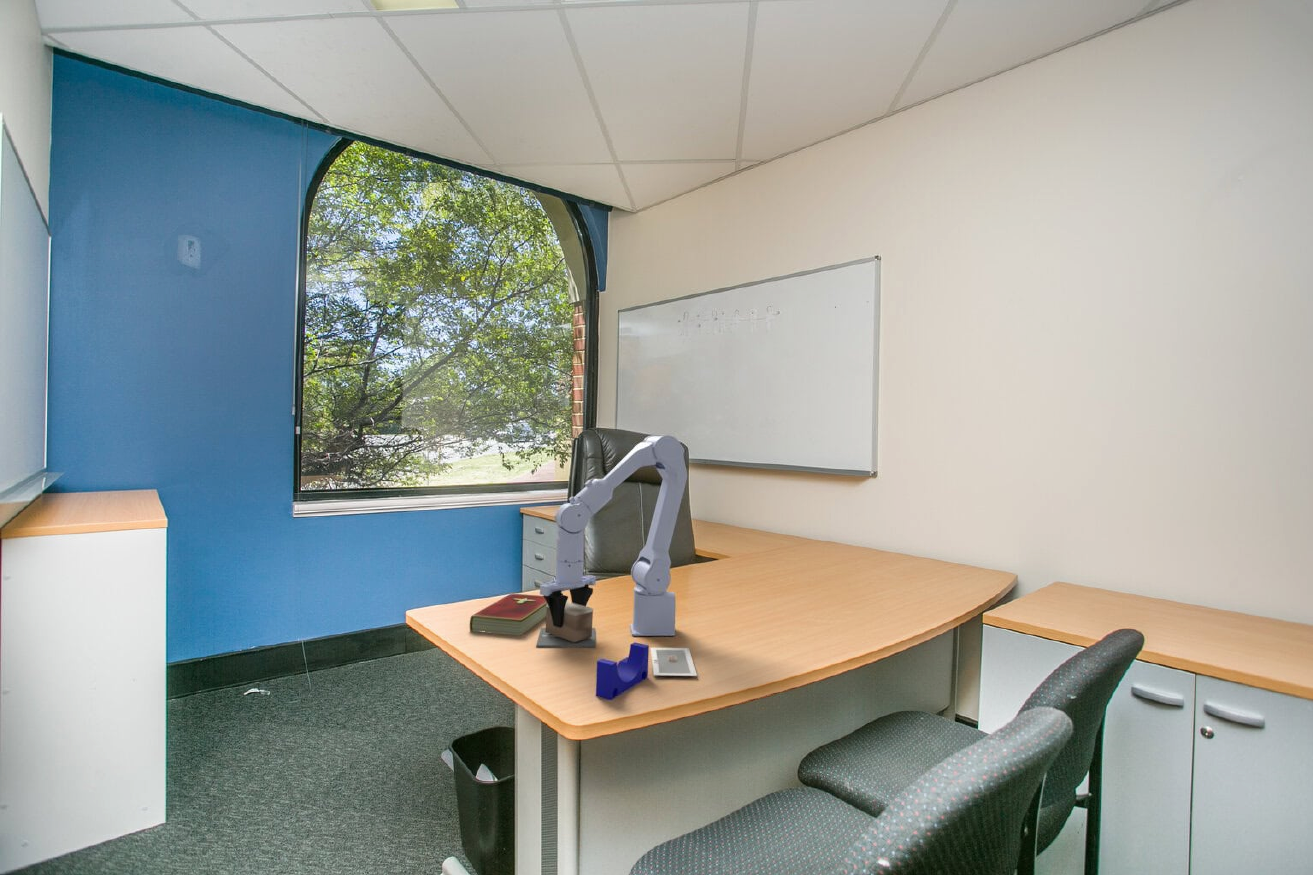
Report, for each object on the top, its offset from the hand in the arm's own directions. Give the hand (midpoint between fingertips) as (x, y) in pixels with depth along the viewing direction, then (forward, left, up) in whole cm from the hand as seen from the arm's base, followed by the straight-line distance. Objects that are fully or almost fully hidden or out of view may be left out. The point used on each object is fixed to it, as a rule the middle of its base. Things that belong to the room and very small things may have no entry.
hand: (567, 623), depth 134 cm
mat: (0, 0, -3) cm, 3 cm away
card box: (0, 0, -2) cm, 2 cm away
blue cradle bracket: (-10, +26, -3) cm, 28 cm away
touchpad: (-21, +16, -4) cm, 26 cm away
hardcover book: (+12, -13, -4) cm, 18 cm away
